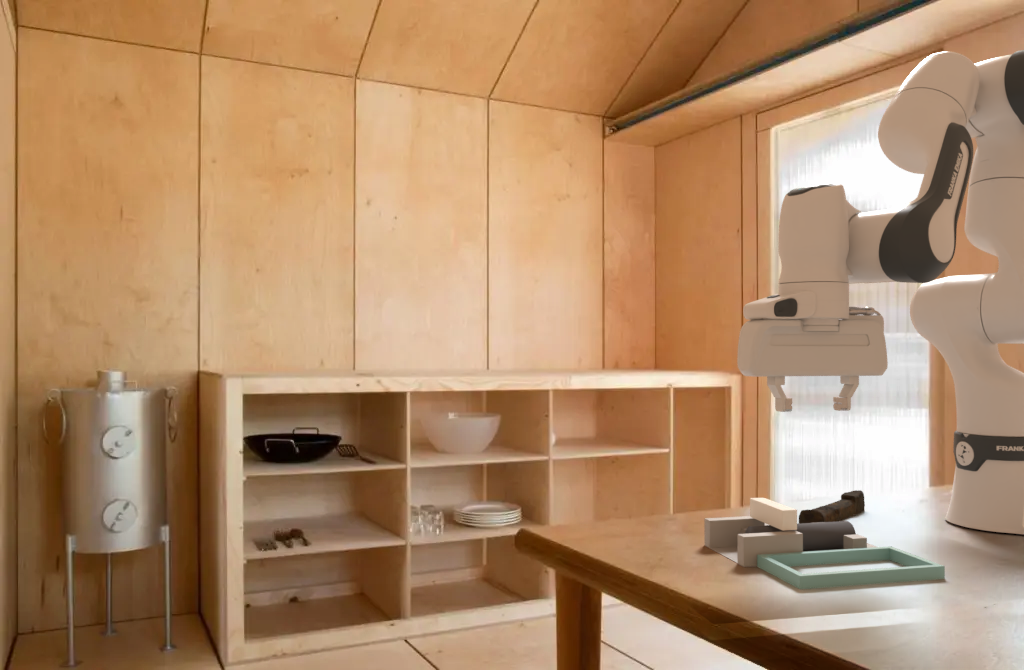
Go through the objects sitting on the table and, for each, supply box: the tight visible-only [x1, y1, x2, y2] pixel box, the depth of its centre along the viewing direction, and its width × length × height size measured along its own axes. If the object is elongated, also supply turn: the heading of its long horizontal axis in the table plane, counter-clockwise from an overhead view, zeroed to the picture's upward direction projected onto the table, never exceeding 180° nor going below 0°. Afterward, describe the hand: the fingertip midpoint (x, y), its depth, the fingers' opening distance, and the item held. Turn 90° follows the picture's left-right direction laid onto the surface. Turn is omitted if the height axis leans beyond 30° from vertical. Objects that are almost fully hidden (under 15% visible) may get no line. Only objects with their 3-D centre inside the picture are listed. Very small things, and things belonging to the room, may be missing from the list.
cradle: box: [703, 515, 877, 568], centre depth 112 cm, size 22×11×5 cm, turn 102°
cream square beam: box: [749, 497, 798, 531], centre depth 112 cm, size 2×8×2 cm, turn 12°
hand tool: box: [798, 489, 866, 524], centre depth 133 cm, size 19×4×5 cm, turn 133°
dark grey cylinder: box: [745, 520, 857, 551], centre depth 112 cm, size 14×4×4 cm, turn 102°
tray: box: [756, 545, 946, 590], centre depth 102 cm, size 19×10×3 cm, turn 103°
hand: (813, 411), depth 113 cm, fingers open, 7 cm apart
